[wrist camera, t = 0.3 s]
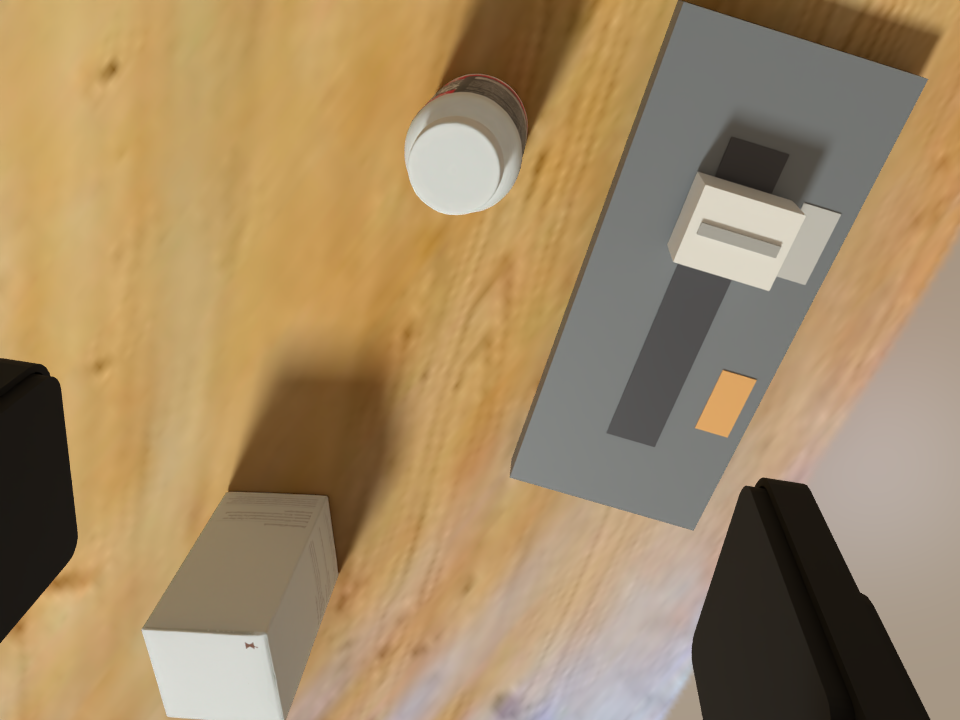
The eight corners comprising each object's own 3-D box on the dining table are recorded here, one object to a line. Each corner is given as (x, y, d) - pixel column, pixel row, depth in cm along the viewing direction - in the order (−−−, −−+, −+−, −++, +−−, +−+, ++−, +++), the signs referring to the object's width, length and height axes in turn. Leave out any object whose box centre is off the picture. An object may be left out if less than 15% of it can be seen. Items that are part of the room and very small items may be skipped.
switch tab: (697, 171, 40) (706, 186, 38) (792, 200, 40) (807, 216, 38) (667, 245, 42) (673, 263, 39) (758, 272, 42) (770, 292, 40)
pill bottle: (450, 53, 41) (418, 81, 32) (545, 99, 41) (540, 137, 33) (412, 151, 43) (373, 201, 35) (503, 193, 44) (487, 252, 35)
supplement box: (224, 488, 55) (136, 626, 44) (330, 493, 54) (269, 634, 43) (240, 572, 58) (162, 720, 47) (340, 577, 58) (286, 729, 46)
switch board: (678, -1, 39) (684, 1, 37) (911, 73, 39) (928, 79, 37) (511, 459, 52) (509, 478, 50) (689, 510, 52) (693, 531, 50)
